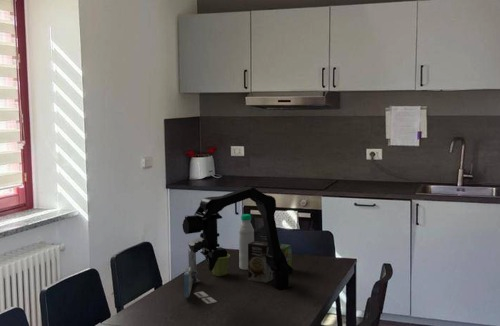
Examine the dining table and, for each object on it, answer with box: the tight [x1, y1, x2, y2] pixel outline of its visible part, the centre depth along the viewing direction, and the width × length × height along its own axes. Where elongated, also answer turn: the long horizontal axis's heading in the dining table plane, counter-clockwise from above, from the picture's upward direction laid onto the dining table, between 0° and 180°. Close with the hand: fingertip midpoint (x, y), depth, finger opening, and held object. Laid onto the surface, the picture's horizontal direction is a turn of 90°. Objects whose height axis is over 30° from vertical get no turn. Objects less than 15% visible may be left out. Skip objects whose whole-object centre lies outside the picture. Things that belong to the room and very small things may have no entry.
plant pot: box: [211, 253, 231, 277], centre depth 277 cm, size 9×9×9 cm
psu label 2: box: [200, 296, 218, 305], centre depth 242 cm, size 6×4×1 cm, turn 27°
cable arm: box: [183, 266, 194, 298], centre depth 253 cm, size 22×2×9 cm, turn 0°
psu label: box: [193, 291, 210, 299], centre depth 249 cm, size 6×4×1 cm, turn 27°
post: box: [187, 248, 201, 284], centre depth 267 cm, size 5×5×14 cm
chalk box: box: [272, 238, 293, 274], centre depth 281 cm, size 9×9×15 cm
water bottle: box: [238, 213, 255, 271], centre depth 285 cm, size 7×7×25 cm
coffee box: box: [247, 240, 273, 284], centre depth 268 cm, size 9×6×16 cm
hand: (210, 270), depth 241 cm, fingers closed
